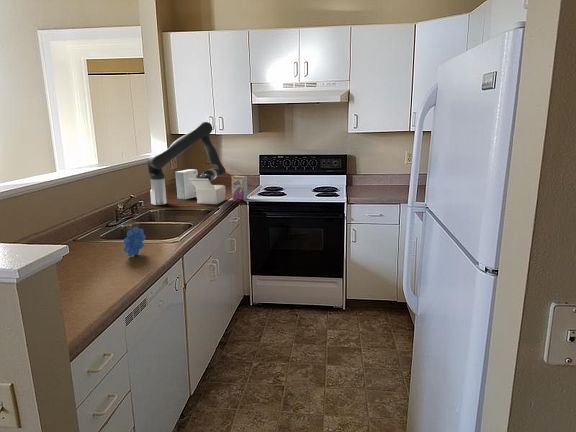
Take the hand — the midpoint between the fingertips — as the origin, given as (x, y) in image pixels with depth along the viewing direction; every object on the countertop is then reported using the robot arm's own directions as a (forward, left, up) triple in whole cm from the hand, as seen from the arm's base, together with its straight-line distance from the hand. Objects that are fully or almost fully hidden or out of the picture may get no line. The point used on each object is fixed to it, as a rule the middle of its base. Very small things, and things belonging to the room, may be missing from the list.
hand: (199, 178), depth 271 cm
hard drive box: (+15, +35, -19) cm, 42 cm away
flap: (+8, +5, -8) cm, 13 cm away
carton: (+16, +9, -19) cm, 26 cm away
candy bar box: (+36, +2, -19) cm, 40 cm away
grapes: (-79, -60, -19) cm, 101 cm away
